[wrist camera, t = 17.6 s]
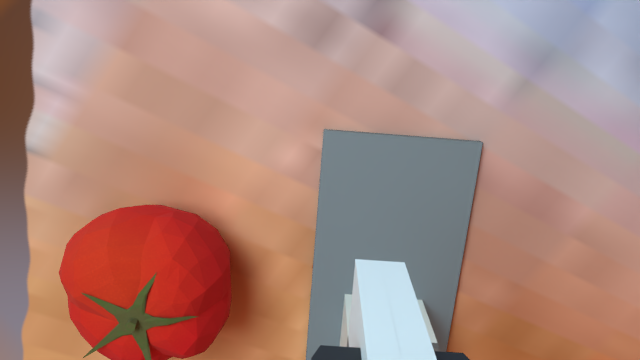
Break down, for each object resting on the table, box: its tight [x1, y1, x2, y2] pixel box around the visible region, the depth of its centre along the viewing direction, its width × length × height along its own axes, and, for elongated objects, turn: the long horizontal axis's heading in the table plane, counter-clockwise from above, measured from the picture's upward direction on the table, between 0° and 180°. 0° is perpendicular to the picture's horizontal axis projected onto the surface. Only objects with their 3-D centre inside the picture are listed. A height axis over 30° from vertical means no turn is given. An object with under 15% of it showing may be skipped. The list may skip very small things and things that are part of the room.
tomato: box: [59, 205, 232, 360], centre depth 38 cm, size 12×13×12 cm
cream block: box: [340, 294, 439, 351], centre depth 41 cm, size 7×7×7 cm
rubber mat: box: [306, 129, 483, 360], centre depth 44 cm, size 13×28×1 cm, turn 176°
